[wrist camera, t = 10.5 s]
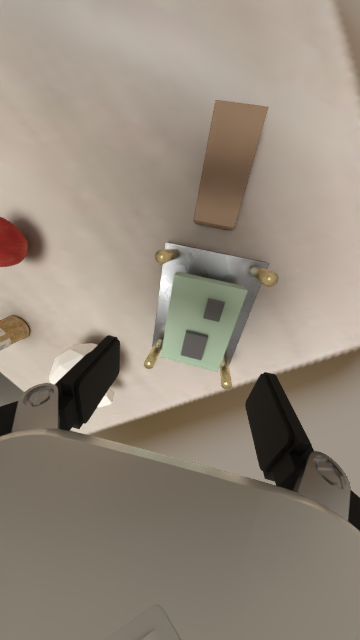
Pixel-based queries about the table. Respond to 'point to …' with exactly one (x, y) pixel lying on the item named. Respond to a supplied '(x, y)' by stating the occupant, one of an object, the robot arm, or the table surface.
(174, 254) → the chassis
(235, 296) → the board
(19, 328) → the sprinkles bottle
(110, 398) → the perfume bottle
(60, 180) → the table surface
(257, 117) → the walnut stand
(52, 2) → the table surface
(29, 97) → the table surface
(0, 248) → the onion
